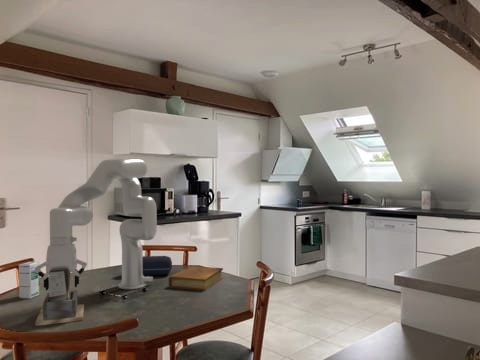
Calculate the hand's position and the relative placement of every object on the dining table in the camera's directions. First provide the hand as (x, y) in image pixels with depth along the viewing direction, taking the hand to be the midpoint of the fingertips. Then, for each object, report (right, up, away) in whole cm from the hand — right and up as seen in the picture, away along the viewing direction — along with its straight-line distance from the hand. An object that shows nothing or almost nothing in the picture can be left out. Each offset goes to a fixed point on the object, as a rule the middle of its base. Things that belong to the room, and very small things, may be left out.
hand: (61, 287), depth 139 cm
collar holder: (0, -10, 0) cm, 10 cm away
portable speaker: (+17, -11, +61) cm, 65 cm away
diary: (+45, -11, +45) cm, 65 cm away
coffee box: (0, -9, -1) cm, 9 cm away
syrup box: (-25, -11, +24) cm, 37 cm away
